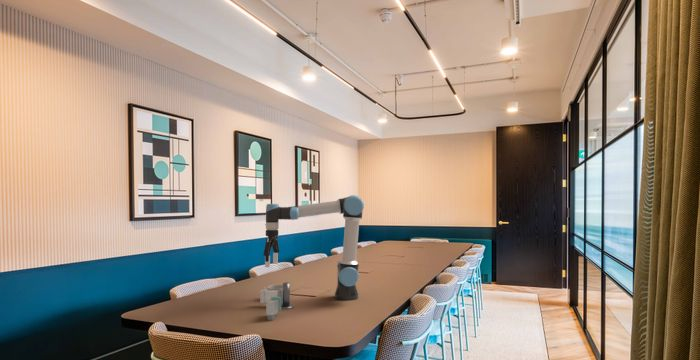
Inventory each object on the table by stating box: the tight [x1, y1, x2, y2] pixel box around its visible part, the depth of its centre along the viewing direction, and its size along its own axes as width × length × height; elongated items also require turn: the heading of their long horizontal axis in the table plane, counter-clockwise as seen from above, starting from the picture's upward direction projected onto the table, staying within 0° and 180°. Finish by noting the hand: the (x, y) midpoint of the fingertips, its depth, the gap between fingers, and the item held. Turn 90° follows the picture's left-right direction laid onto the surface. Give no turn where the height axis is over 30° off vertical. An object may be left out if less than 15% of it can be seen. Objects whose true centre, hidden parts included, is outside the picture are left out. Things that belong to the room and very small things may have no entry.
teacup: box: [262, 284, 283, 291], centre depth 253 cm, size 14×11×8 cm
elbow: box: [259, 288, 283, 306], centre depth 235 cm, size 12×5×9 cm, turn 81°
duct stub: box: [265, 297, 282, 322], centre depth 213 cm, size 10×5×10 cm, turn 170°
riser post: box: [281, 281, 294, 310], centre depth 234 cm, size 8×8×14 cm
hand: (271, 265), depth 242 cm, fingers open, 13 cm apart
